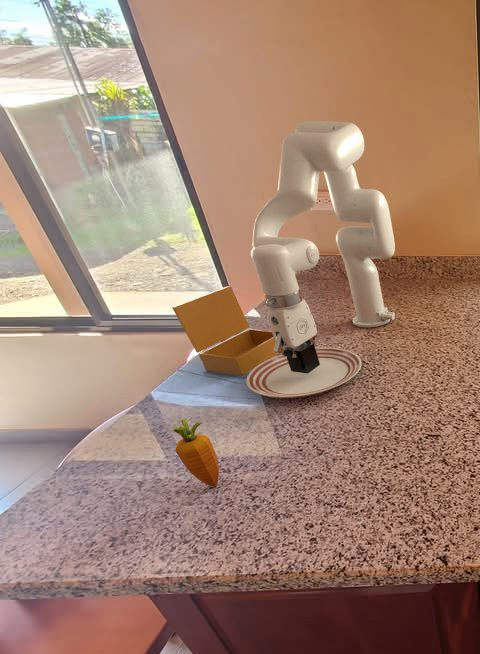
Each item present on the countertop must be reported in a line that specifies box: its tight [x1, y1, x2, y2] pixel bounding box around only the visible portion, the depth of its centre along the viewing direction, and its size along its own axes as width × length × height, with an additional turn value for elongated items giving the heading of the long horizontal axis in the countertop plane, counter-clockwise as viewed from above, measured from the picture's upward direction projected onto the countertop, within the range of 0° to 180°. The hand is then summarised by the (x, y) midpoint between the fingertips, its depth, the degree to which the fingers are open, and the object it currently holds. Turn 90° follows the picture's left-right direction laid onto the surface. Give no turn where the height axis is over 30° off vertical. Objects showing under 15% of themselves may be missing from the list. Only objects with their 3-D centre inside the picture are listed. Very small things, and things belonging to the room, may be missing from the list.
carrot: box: [172, 418, 220, 488], centre depth 76 cm, size 5×5×15 cm
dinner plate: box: [245, 346, 362, 399], centre depth 113 cm, size 27×27×3 cm
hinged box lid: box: [172, 285, 250, 353], centre depth 117 cm, size 13×17×6 cm
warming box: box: [198, 327, 280, 377], centre depth 120 cm, size 12×17×6 cm
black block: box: [287, 342, 320, 374], centre depth 110 cm, size 5×5×6 cm
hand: (304, 363), depth 111 cm, fingers closed on black block, 5 cm apart
